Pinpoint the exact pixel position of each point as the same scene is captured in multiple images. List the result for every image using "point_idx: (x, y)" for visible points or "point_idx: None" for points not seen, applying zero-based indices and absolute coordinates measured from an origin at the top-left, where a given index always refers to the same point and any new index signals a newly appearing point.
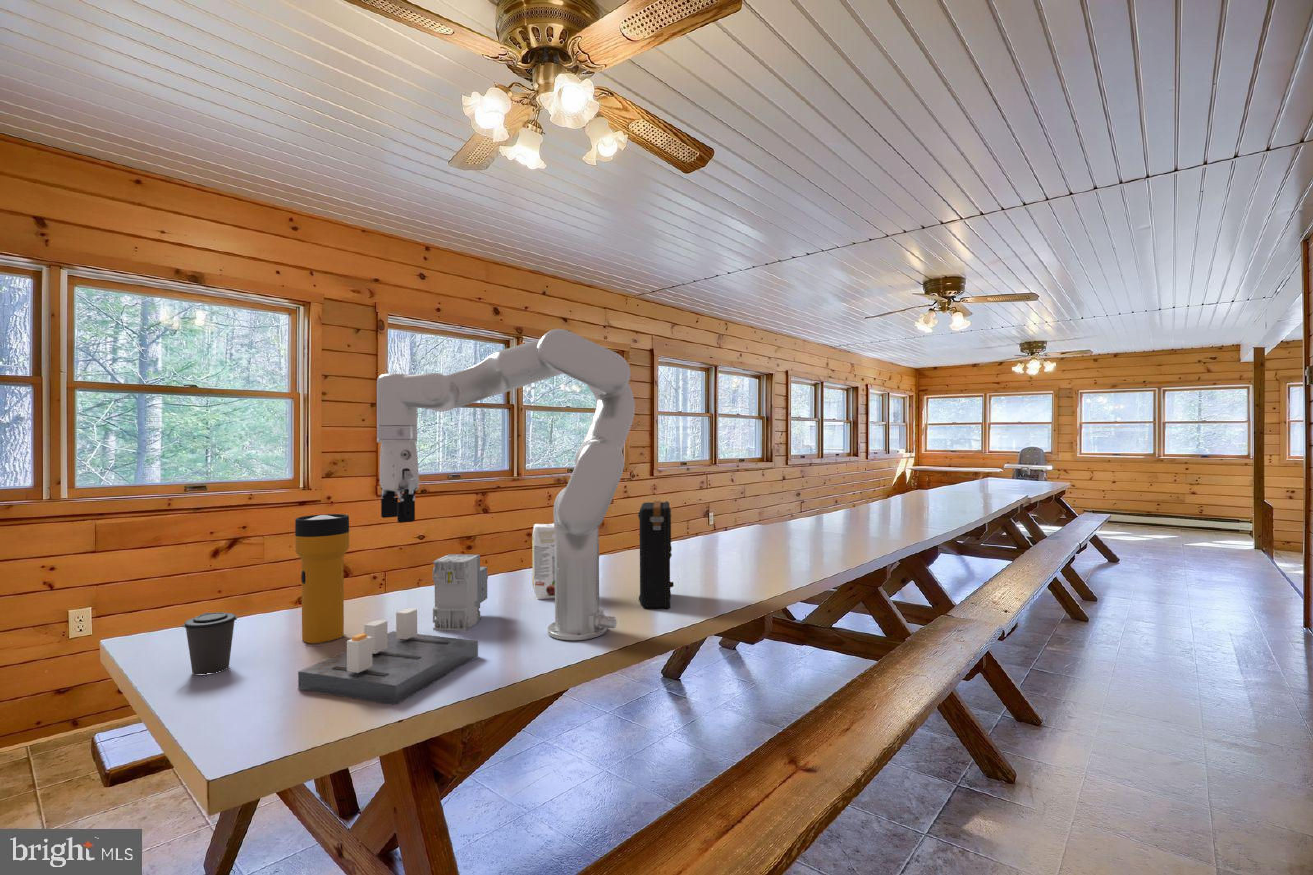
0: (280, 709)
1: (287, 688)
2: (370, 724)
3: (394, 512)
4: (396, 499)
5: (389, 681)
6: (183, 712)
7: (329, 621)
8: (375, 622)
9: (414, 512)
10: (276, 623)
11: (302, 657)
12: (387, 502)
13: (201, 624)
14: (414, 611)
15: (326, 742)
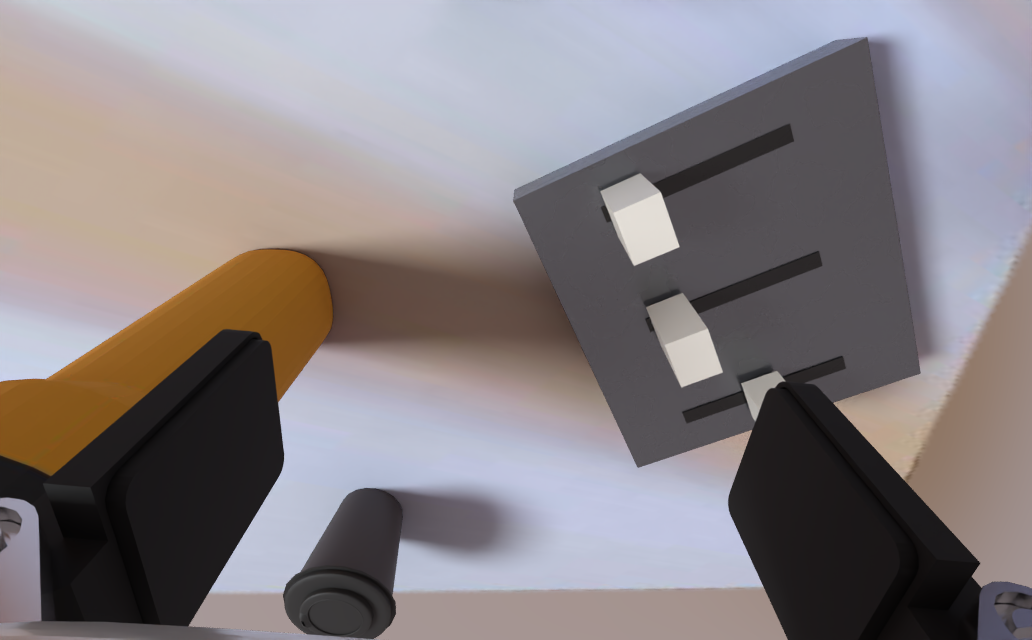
0: (700, 484)
1: (605, 452)
2: (918, 413)
3: (251, 391)
4: (136, 489)
5: (884, 372)
6: (574, 569)
7: (312, 323)
8: (689, 358)
9: (861, 440)
10: (37, 339)
11: (424, 381)
12: (187, 562)
13: (382, 629)
14: (663, 204)
15: (904, 476)
